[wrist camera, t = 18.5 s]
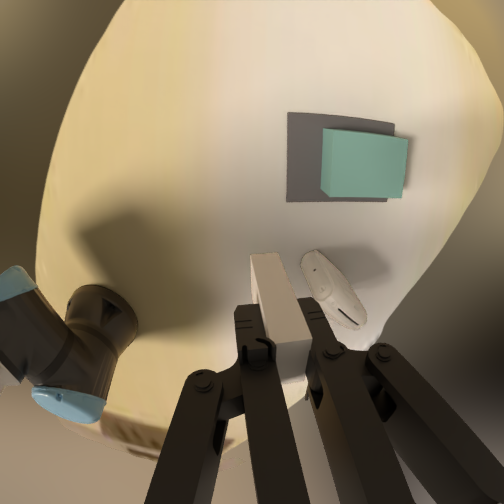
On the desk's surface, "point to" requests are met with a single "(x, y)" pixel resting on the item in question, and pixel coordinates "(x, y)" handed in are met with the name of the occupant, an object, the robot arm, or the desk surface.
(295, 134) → the mat
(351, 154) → the block
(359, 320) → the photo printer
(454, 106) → the desk surface
